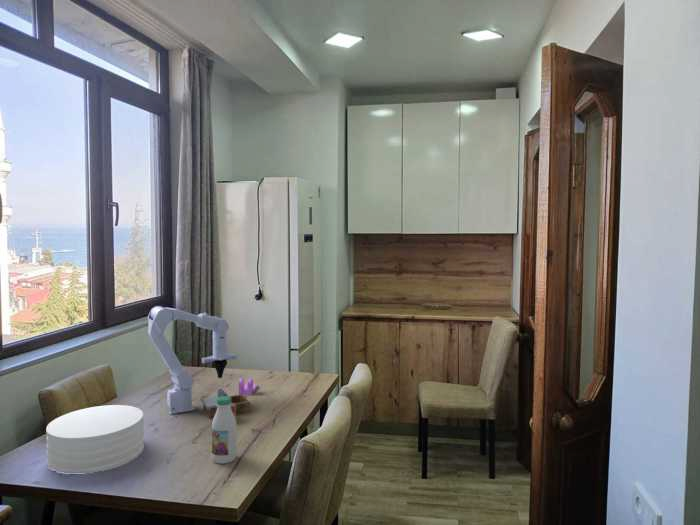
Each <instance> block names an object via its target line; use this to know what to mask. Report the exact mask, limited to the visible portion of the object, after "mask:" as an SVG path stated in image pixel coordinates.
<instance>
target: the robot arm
mask: <svg viewBox="0 0 700 525" xmlns="http://www.w3.org/2000/svg"><path fill="white" fill-rule="evenodd" d="M147 320H148V322H147V323H148V326H147V327H148V328H147V334H148V336H149V338H150V340H151V342H152V343H153V345H154V347H155V348H156V350H157V351H158V353H159V355H160V357H161V358H162V360H163V362H164V363H165V365H166V367H167V368H168V370H169V374H170V377H171V378H170V379H171V382H172V383H173V388H172V389H168V390H167V392H166V393H167V394H166V396H167V397H166V399H167V401H166V404H167V407H166V409H167V410H168V412H169V414H171V415H174V414H179V413H180V414H181V413H184V412H185V413H186V412H190V411H195V410H196V408H195V407H194V406H193V390H192V389H193V388H192V386H193V385H194V383H195V382H194V381H195V379H194V376H193V375H192V374H190V373H188V371H187V369H186V368H185V367H184V366H183V365H182V363H181V362H180V360H179V358H178V357H177V355H176V353H175V351H174V349H173V347H171V344H170V343H169V341H168V340H167V338H166V336H165V335H164V333H165V330H166V328H167V326H168V325H169V324H170V323H171V322H172V321H173V322H175V321H176V320H183V321H187V322H192V323H194V324H195V325H196V327H197V328H198V327H199V328H201V329H206V330H209V331H212V355H210V356H207V357H201V363H202V364H206V363H212V365H213V367H215V368H214V369H215V372H216V374H217V378H218V379H222V378H223V374H224V370H225V369H226V366H227V364H228V361H229V360H230V361H231V360H238V355H237V354H236V353H227V331H228V330H229V328H230V325H229V324H228V321H227V320H226V319H224V318H220V317H218V316H217V315H215V316H213V315H209V314H208V313H207V312H203V313H199V314H197V315H196V314H193V313H191V312H188V311H184V310H180V309H178V308H172V307H167V306H165V307H163V306H161V305H156V306H154V307H152V308H151V310H150V311H149V313H148V316H147Z"/></svg>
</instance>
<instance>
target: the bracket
mask: <svg viewBox="0 0 700 525" xmlns="http://www.w3.org/2000/svg"><path fill="white" fill-rule="evenodd" d="M257 389H258V383H254V379H253V378H249V379H248V380H247V383H246V384H245V379H244V378H239V380H238V395H240V394H242V395H243V396H252V395H253V394H254V392H255V391H256V390H257Z"/></svg>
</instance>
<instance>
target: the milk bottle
mask: <svg viewBox="0 0 700 525" xmlns="http://www.w3.org/2000/svg"><path fill="white" fill-rule="evenodd" d="M229 396H230V395H229ZM229 396H228V395H227V396H221V397H218V398H217V411H216V414H215V416H214V418H213V419H212V424H211V459H212V462H214V463H215V464H221V465H222V464H230V463H231V462H234V461H235V460H236V459H237V455H238V453H237V452H238V451H237V449H238V446H237V443H238V442H237V441H238V440H237V438H238V437H237V418H236V419H235V416H234V414H233V412H232V410H231V397H229Z"/></svg>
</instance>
